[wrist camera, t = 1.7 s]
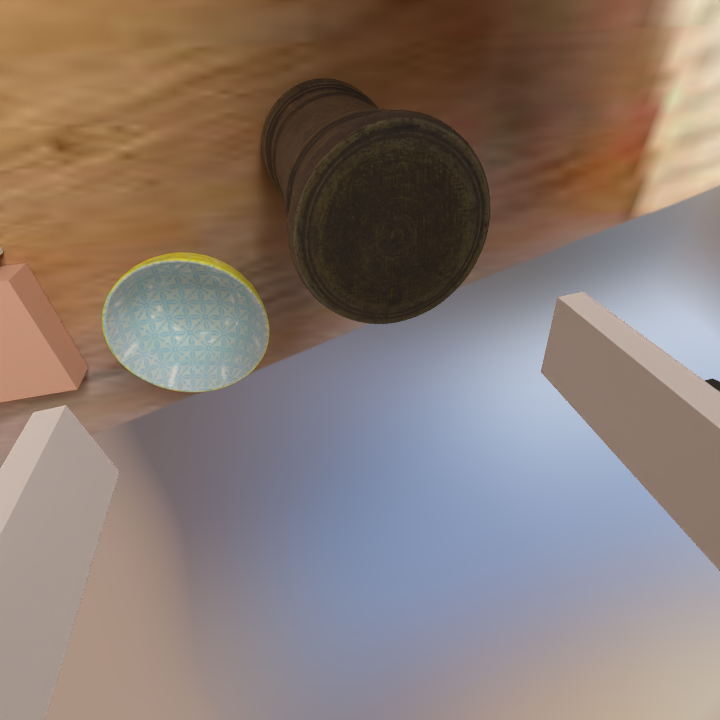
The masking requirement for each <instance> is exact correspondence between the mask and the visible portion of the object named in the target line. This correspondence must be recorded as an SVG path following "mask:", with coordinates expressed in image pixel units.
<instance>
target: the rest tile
mask: <svg viewBox="0 0 720 720" xmlns="http://www.w3.org/2000/svg"><path fill="white" fill-rule="evenodd" d="M87 369H88V366H87V365H86V363H85V361H84V360H83V358H82V356H81V354H80V353H79V351H78V349H77V348H76V346H75V344H74V343H73V341H72V339H71V337H70V336H69V334H68V332H67V331H66V329H65V327H64V326H63V324H62V322H61V320H60V319H59V317H58V315H57V314H56V312H55V310H54V309H53V307H52V305H51V304H50V302H49V300H48V298H47V297H46V295H45V293H44V292H43V290H42V288H41V287H40V285H39V283H38V281H37V280H36V278H35V276H34V275H33V273H32V271H31V270H30V268H29V266H28V264H27V263H22V264H14V265H6V266H0V402H6V401H12V400H18V399H24V398H30V397H36V396H41V395H47V394H53V393H59V392H65V391H71V390H77V389H78V387H79V385H80V383H81V381H82V379H83V377H84V375H85V373H86V371H87Z"/></svg>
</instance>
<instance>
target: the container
mask: <svg viewBox="0 0 720 720" xmlns="http://www.w3.org/2000/svg"><path fill="white" fill-rule="evenodd" d="M261 145H262V155H263V160H264V163H265V167H266V169H267V172H268V175H269V177H270V179H271V180H272V182H273V184H274V185H275V187H276V188H277V190H278V191H279V193H280V194H281V195H282V197H283V198H284V200H285V203H286V212H287V218H288V242H289V249H290V253H291V257H292V260H293V263H294V266H295V268H296V271H297V273H298V275H299V276H300V278H301V280H302V282H303V283H304V285H305V286H306V287H307V289H308V290H309V291H310V292H311V293H312V295H313V296H314V297H315V298H316V299H317V300H318V301H319V302H321V303H322V304H323V305H324V306H326V307H327V308H329V309H330V310H332V311H333V312H335V313H337V314H339V315H341V316H343V317H346V318H349V319H352V320H355V321H359V322H364V323H371V324H387V323H395V322H400V321H404V320H407V319H411V318H413V317H416V316H418V315H421V314H423V313H425V312H427V311H429V310H431V309H432V308H434V307H436V306H437V305H438V304H440V303H441V302H443V301H444V300H445V299H446V298H448V297H449V296H450V295H451V294H452V293H453V292H454V291H455V290H456V289H457V288H458V287H459V286H460V285H461V283H462V282H463V281H464V280H465V278H466V277H467V276H468V274H469V273H470V271H471V270H472V268H473V267H474V265H475V263H476V261H477V259H478V257H479V255H480V253H481V251H482V248H483V246H484V243H485V239H486V236H487V232H488V227H489V220H490V195H489V188H488V183H487V180H486V177H485V174H484V171H483V168H482V166H481V164H480V162H479V160H478V158H477V156H476V154H475V153H474V151H473V150H472V148H471V147H470V146H469V144H468V143H467V142H466V141H465V140H464V139H463V138H462V137H461V136H460V135H459V134H458V133H457V132H456V131H455V130H453V129H452V128H451V127H450V126H448V125H447V124H445V123H443V122H442V121H440V120H438V119H436V118H434V117H432V116H429V115H426V114H422V113H418V112H413V111H405V110H385V109H379V108H378V107H377V106H376V105H375V104H374V103H373V102H372V101H371V100H370V99H369V98H368V97H367V96H366V95H364V94H363V93H362V92H361V91H359V90H358V89H356V88H355V87H353V86H351V85H349V84H347V83H344V82H342V81H338V80H334V79H314V80H309V81H306V82H303V83H301V84H299V85H296V86H295V87H293V88H291V89H290V90H289V91H287V92H286V93H285V94H284V95H283V96H282V97H281V98H280V99H279V100H278V101H277V102H276V103H275V105H274V106H273V108H272V109H271V111H270V112H269V114H268V116H267V118H266V121H265V124H264V128H263V132H262V144H261Z"/></svg>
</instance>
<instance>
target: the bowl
mask: <svg viewBox="0 0 720 720" xmlns="http://www.w3.org/2000/svg"><path fill="white" fill-rule="evenodd" d="M102 328H103V333H104V337H105V340H106V343H107V345H108V347H109V349H110V350H111V352H112V353H113V355H114V356H115V357H116V359H117V360H118V361H119V362H120V363H121V364H122V365H123V366H124V367H125V368H126V369H127V370H128V371H130V372H131V373H132V374H134V375H135V376H137V377H139V378H141V379H142V380H144V381H146V382H148V383H151V384H153V385H155V386H158V387H161V388H165V389H169V390H174V391H180V392H207V391H212V390H217V389H221V388H224V387H226V386H230V385H232V384H234V383H236V382H238V381H239V380H241V379H243V378H244V377H246V376H247V375H248V374H250V373H251V372H252V371H253V370H254V369H255V368H256V367H257V365H258V364H259V363H260V361H261V360H262V358H263V356H264V354H265V352H266V350H267V347H268V343H269V337H270V326H269V320H268V315H267V312H266V309H265V307H264V304H263V302H262V300H261V298H260V296H259V294H258V293H257V291H256V290H255V288H254V286H253V285H252V284H251V283H250V282H249V281H248V280H247V279H246V278H245V277H244V276H243V275H242V274H241V273H240V272H238V271H237V270H236V269H235V268H233V267H232V266H230V265H228V264H226V263H224V262H222V261H220V260H218V259H216V258H212V257H210V256H207V255H202V254H197V253H183V252H178V253H170V254H164V255H160V256H156V257H153V258H150V259H148V260H146V261H144V262H142V263H140V264H138V265H136V266H135V267H133V268H131V269H130V270H129V271H128V272H126V273H125V274H124V275H123V276H122V277H121V278H120V279H119V280H118V281H117V282H116V284H115V285H114V286H113V287H112V289H111V290H110V292H109V294H108V296H107V298H106V300H105V303H104V306H103V310H102Z"/></svg>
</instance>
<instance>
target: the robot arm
mask: <svg viewBox="0 0 720 720" xmlns="http://www.w3.org/2000/svg"><path fill="white" fill-rule="evenodd" d="M541 372H542V373H543V375H544V376H545V377H546V378H547V379H548V380H549V381H550V382H551V383H552V385H553V386H554V387H555V388H556V389H557V390H558V391H559V392H560V393H561V395H562V396H563V397H564V398H565V399H566V400H567V401H568V402H569V404H570V405H571V406H572V407H573V408H574V409H575V410H576V411H577V412H578V413H579V415H580V416H581V417H582V418H583V419H584V420H585V421H586V422H587V424H589V426H590V427H591V428H592V429H593V430H594V431H595V432H596V434H597V435H598V436H599V437H600V438H601V439H602V440H603V441H604V443H605V444H606V445H607V446H608V447H609V448H610V449H611V450H612V451H613V453H614V454H615V455H616V456H617V457H618V458H619V459H620V460H621V461H622V463H623V464H624V465H625V466H626V467H627V468H628V469H629V470H630V471H631V473H632V474H633V475H634V476H635V477H636V478H637V479H638V480H639V481H640V483H641V484H642V485H643V486H644V487H645V488H646V489H647V490H648V491H649V493H650V494H651V495H652V496H653V497H654V498H655V499H656V500H657V501H658V503H659V504H660V505H661V506H662V507H663V508H664V509H665V510H666V511H667V513H668V514H669V515H670V516H671V517H672V518H673V519H674V520H675V522H676V523H677V524H678V525H679V526H680V527H681V528H682V529H683V530H684V532H685V533H686V534H687V535H688V536H689V537H690V538H691V539H692V540H693V542H694V543H695V544H696V545H697V546H698V547H699V548H700V549H701V551H702V552H703V553H704V554H705V555H706V556H707V557H708V558H709V559H710V561H711V562H712V563H713V564H714V565H715V566H716V567H717V568H718V569H719V571H720V382H719V381H716V380H714V379H709V380H705V381H704V380H703V379H701V378H700V377H699V376H697V375H696V374H695V373H693V372H692V371H690V370H689V369H688V368H686V367H685V366H684V365H682V364H681V363H680V362H678V361H677V360H675V359H674V358H673V357H671V356H670V355H669V354H667V353H666V352H665V351H663V350H662V349H661V348H659V347H658V346H656V345H655V344H654V343H652V342H651V341H649V340H648V339H647V338H646V337H644V336H643V335H641V334H640V333H639V332H637V331H636V330H635V329H633V328H632V327H631V326H629V325H628V324H626V323H625V322H624V321H622V320H621V319H620V318H618V317H617V316H616V315H614V314H613V313H611V312H610V311H609V310H607V309H606V308H605V307H603V306H602V305H601V304H599V303H598V302H596V301H595V300H593V299H592V298H591V297H590V296H588V295H587V294H586V293H584V292H579V293H574V294H570V295H565V296H561V297H558V298H557V302H556V307H555V311H554V316H553V320H552V325H551V330H550V334H549V338H548V343H547V348H546V351H545V356H544V361H543V365H542V369H541ZM119 473H120V472H119V471H118V469H117V468H116V467H115V466H114V464H113V463H112V462H111V461H110V459H109V458H108V457H107V456H106V454H105V453H104V452H103V451H102V450H101V448H100V447H99V446H98V444H97V443H96V442H95V441H94V439H93V438H92V437H91V436H90V434H89V433H88V432H87V431H86V429H85V428H84V427H83V426H82V424H81V423H80V422H79V421H78V419H77V418H76V417H75V416H74V414H73V413H72V412H71V411H70V409H69V408H68V407H67V406H66V405H64V406H60V407H55V408H51V409H46V410H41V411H37V412H33V414H32V416H31V417H30V419H29V421H28V422H27V424H26V426H25V427H24V429H23V431H22V433H21V434H20V436H19V438H18V439H17V441H16V443H15V445H14V446H13V448H12V450H11V451H10V453H9V455H8V457H7V458H6V460H5V462H4V463H3V465H2V467H1V468H0V720H45V718H46V715H47V712H48V709H49V705H50V702H51V698H52V695H53V692H54V689H55V685H56V682H57V679H58V675H59V672H60V669H61V665H62V662H63V659H64V655H65V652H66V649H67V646H68V642H69V639H70V635H71V632H72V629H73V626H74V622H75V619H76V615H77V612H78V609H79V606H80V602H81V599H82V596H83V592H84V589H85V586H86V582H87V579H88V576H89V573H90V569H91V565H92V563H93V559H94V556H95V553H96V549H97V546H98V543H99V539H100V536H101V533H102V529H103V526H104V523H105V519H106V516H107V513H108V509H109V506H110V503H111V499H112V496H113V493H114V489H115V486H116V483H117V480H118V476H119Z"/></svg>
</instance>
